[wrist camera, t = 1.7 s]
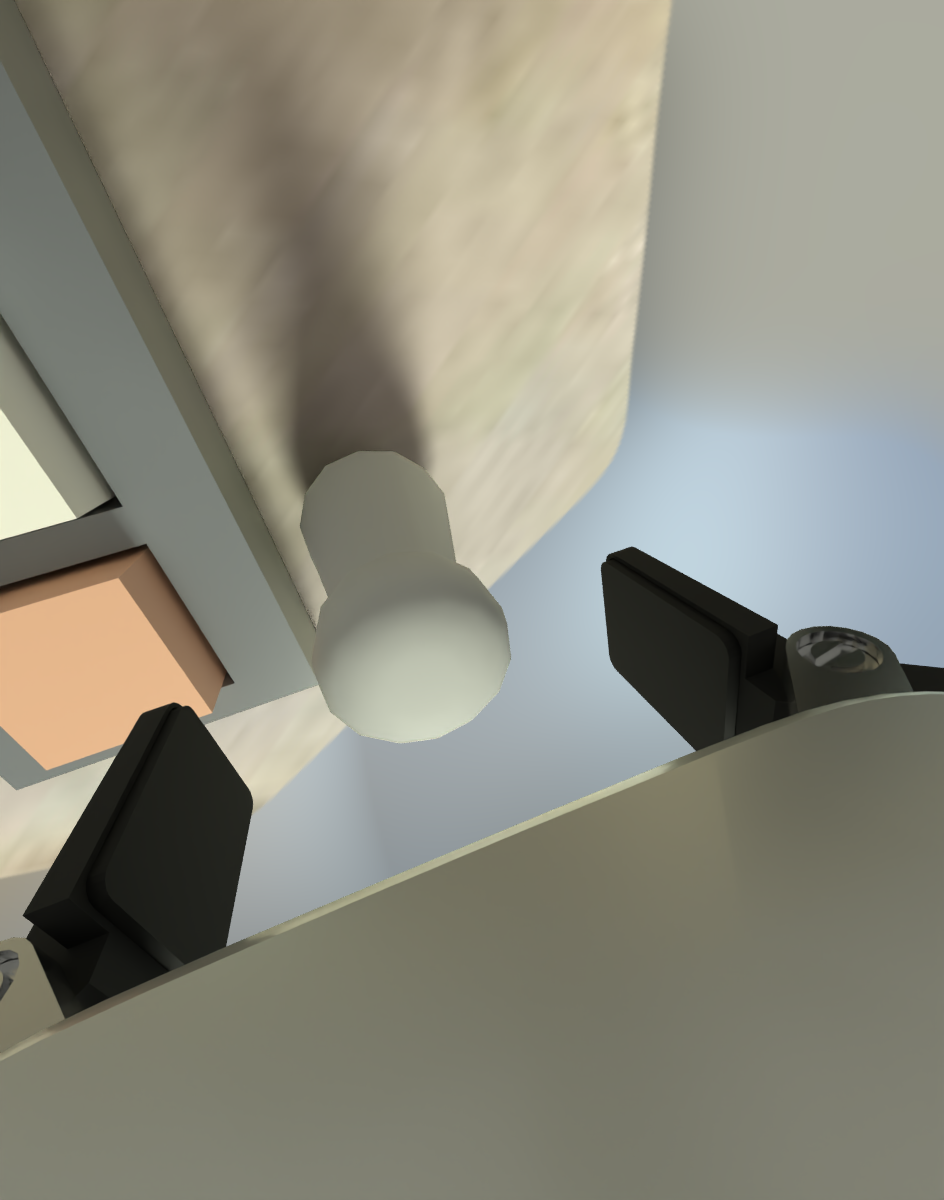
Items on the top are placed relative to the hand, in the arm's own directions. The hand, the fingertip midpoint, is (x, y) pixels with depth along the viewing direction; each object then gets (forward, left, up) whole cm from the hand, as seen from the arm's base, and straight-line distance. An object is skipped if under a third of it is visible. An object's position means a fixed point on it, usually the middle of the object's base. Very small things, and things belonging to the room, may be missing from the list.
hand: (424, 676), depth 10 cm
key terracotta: (0, -10, -10) cm, 15 cm away
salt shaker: (-1, 0, -12) cm, 12 cm away
